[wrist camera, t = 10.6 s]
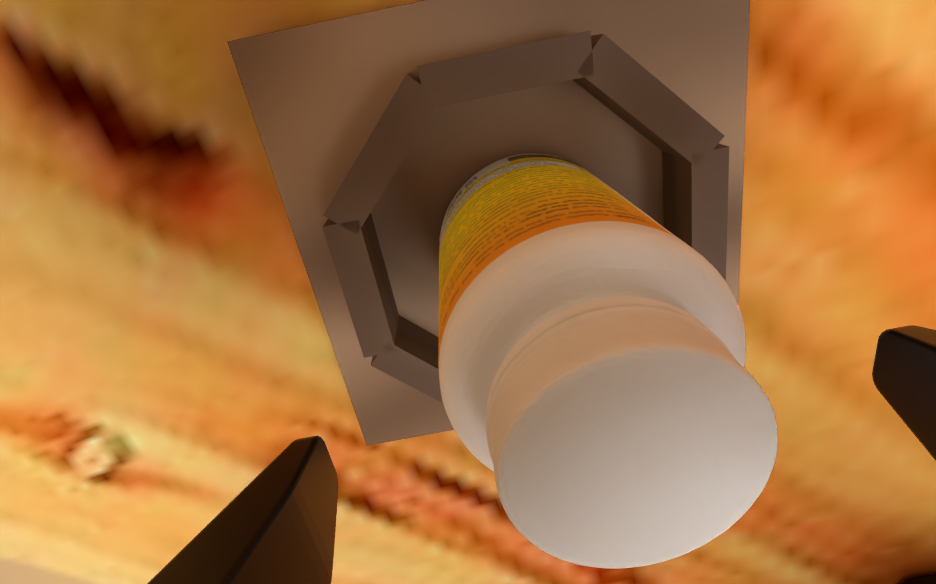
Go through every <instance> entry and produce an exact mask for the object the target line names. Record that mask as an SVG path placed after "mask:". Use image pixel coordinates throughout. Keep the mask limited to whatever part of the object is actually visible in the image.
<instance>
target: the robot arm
mask: <svg viewBox="0 0 936 584" xmlns="http://www.w3.org/2000/svg"><path fill="white" fill-rule="evenodd" d="M872 376H873V381H874V384H875V386H876V388H877V389H878V391H879V392H880V393H881V394H882V396H883V397H884V398H885V399H886V400H887V402H888V403H889V404H890V405H891V407H892V408H893V409H894V410H895V411H896V413H897V414H898V415H899V416H900V417H901V419H902V420H903V421H904V422H905V424H906V425H907V426H908V427H909V428H910V430H911V431H912V432H913V433H914V435H915V436H916V437H917V438H918V439H919V441H920V442H921V443H922V444H923V445H924V447H925V448H926V449H927V450H928V452H929V453H930V454H931V455H932V456H933V458H934V459H935V460H936V330H933V329H928V328H924V327H919V326H904V327H898V328H893V329H888V330H886V331H884V332H882V333H881V335H880V336H879V339H878V343H877V349H876V355H875V360H874V366H873V372H872ZM337 499H338V478H337V473H336V470H335V468H334V465H333V463H332V460H331V458H330V455H329V452H328V450H327V447H326V445H325V442H324V441H323V439H322V438H321V437H319V436H312V437H307V438H301V439H297V440H295V441H293V442H292V443H291V444H290V445H289V446H288V447H287V448H286V449H285V450H284V451H283V452H282V453H281V454H280V455H279V456H278V457H277V458H276V459H274V460H273V461H272V462H271V463H270V464H269V465H268V466H267V467H266V468H265V469H264V470H263V471H262V472H261V473H260V474H259V475H258V476H257V477H256V478H255V479H254V480H253V481H252V482H251V483H250V484H249V485H248V486H247V487H246V488H245V489H244V490H243V491H242V492H241V493H240V494H239V495H238V496H237V497H236V498H235V499H234V500H233V501H232V502H230V503H229V504H228V505H227V506H226V507H225V508H224V509H223V510H222V511H221V512H220V513H219V514H218V515H217V516H216V517H215V518H214V519H213V520H212V521H211V522H210V523H209V524H208V525H207V526H206V527H205V528H204V529H203V530H202V531H201V532H200V533H199V534H198V535H197V536H196V537H195V538H194V539H193V540H192V541H191V542H190V543H189V544H187V545H186V546H185V547H184V548H183V549H182V550H181V551H180V552H179V553H178V554H177V555H176V556H175V557H174V558H173V559H172V560H171V561H170V562H169V563H168V564H167V565H166V566H165V567H164V568H163V569H162V570H161V571H160V572H159V573H158V574H157V575H156V576H155V577H154V578H153V579H152V580H151V581H150V582H149V583H148V584H331V580H332V569H333V556H334V542H335V527H336V513H337ZM902 584H936V575H931V576H925V577H919V578H913V579H909V580H906V581H905V582H903V583H902Z"/></svg>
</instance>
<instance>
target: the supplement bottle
mask: <svg viewBox="0 0 936 584" xmlns="http://www.w3.org/2000/svg"><path fill="white" fill-rule="evenodd" d="M438 332H439V344H438V367H439V381H440V390H441V396H442V401H443V404H444V407H445V411H446V413H447V416H448V418H449V420H450V422H451V425H452V427H453V429H454V431H455V432H456V434H457V435H458V437H459V438H460V440H461V441H462V443H463V444H464V445H465V446H466V448H467V449H468V450H469V451H470V452H471V453H472V454H473V455H474V457H475V458H477V459H478V460H479V461H480V462H481V463H482V464H484V465H485V466H486V467H488V468H489V469H490V470H492V471H493V472H495V481H496V486H497V491H498V495H499V498H500V500H501V503H502V506H503V508H504V510H505V512H506V514H507V516H508V518H509V519H510V521H511V522H512V523H513V525H514V526H515V528H516V529H517V530H518V531H519V532H520V533H521V534H522V535H523V536H524V537H525V538H526V539H527V540H529V541H530V542H531V543H532V544H533V545H535V546H536V547H538V548H539V549H541V550H543V551H544V552H546V553H547V554H550V555H552V556H554V557H557V558H559V559H561V560H564V561H567V562H571V563H574V564H578V565H584V566H590V567H597V568H631V567H640V566H647V565H652V564H656V563H661V562H664V561H667V560H670V559H674V558H676V557H679V556H681V555H684V554H687V553H689V552H691V551H693V550H695V549H697V548H699V547H701V546H703V545H705V544H706V543H708V542H710V541H711V540H713V539H714V538H716V537H717V536H719V535H720V534H722V533H723V532H725V531H726V530H727V529H729V528H730V527H731V526H732V525H733V524H734V523H735V522H736V521H738V520H739V519H740V518H741V517H742V516H743V515H744V514H745V513H746V512H747V510H748V509H749V508H750V507H751V506H752V505H753V503H754V502H755V501H756V499H757V498H758V496H759V495H760V494H761V492H762V490H763V489H764V487H765V485H766V483H767V481H768V479H769V477H770V474H771V471H772V469H773V466H774V463H775V459H776V453H777V446H778V433H777V424H776V418H775V414H774V410H773V408H772V405H771V403H770V401H769V399H768V397H767V396H766V394H765V392H764V391H763V389H762V387H761V386H760V385H759V384H758V382H757V381H756V380H755V379H754V377H753V376H752V375H751V374H750V373H749V372H748V371H747V370H746V369H745V368H744V366H745V355H746V339H745V328H744V323H743V319H742V315H741V311H740V309H739V306H738V304H737V302H736V299H735V297H734V295H733V293H732V291H731V289H730V288H729V286H728V284H727V283H726V281H725V280H724V279H723V277H722V276H721V275H720V273H719V272H718V271H717V270H716V269H715V268H714V267H713V265H711V264H710V263H709V262H708V261H707V260H706V259H705V258H704V257H703V256H702V255H701V254H699V253H698V252H697V251H695V250H694V249H693V248H691V247H690V246H689V245H688V244H686V243H685V242H683V241H682V240H681V239H679V238H678V237H676V236H675V235H674V234H672V233H671V232H669V231H668V230H667V229H665V228H664V227H663V226H661V225H660V224H659V223H657V222H656V221H655V220H654V219H652V218H651V217H650V216H648V215H647V214H646V213H644V212H643V211H641V210H640V209H639V208H637V207H636V206H635V205H633V204H632V203H631V202H629V201H628V200H627V199H626V198H624V197H623V196H622V195H620V194H619V193H618V192H616V191H615V190H613V189H612V188H611V187H609V186H608V185H607V184H605V183H604V182H602V181H601V180H600V179H598V178H597V177H596V176H594V175H593V174H591V173H590V172H589V171H587V170H586V169H584V168H583V167H581V166H579V165H578V164H576V163H574V162H572V161H569V160H567V159H564V158H561V157H557V156H553V155H548V154H519V155H514V156H510V157H506V158H504V159H501V160H498V161H496V162H494V163H491V164H490V165H488V166H486V167H484V168H483V169H481V170H480V171H478V172H477V173H476V174H474V175H473V176H472V177H471V178H470V179H469V180H468V181H467V182H466V183H465V184H464V185H463V186H462V187H461V188H460V189H459V191H458V192H457V193H456V195H455V196H454V198H453V199H452V201H451V203H450V205H449V207H448V209H447V211H446V213H445V216H444V219H443V223H442V226H441V232H440V238H439V328H438Z"/></svg>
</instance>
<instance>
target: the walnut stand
mask: <svg viewBox="0 0 936 584" xmlns="http://www.w3.org/2000/svg"><path fill="white" fill-rule="evenodd" d="M749 13H750V0H424V1H419V2H415V3H410V4H405V5H400V6H395V7H391V8H386V9H381V10H376V11H372V12H367V13H362V14H357V15H353V16H348V17H343V18H338V19H333V20H329V21H324V22H319V23H314V24H310V25H305V26H300V27H295V28H291V29H286V30H281V31H276V32H272V33H267V34H262V35H257V36H252V37H248V38H243V39H238V40H233V41H229V42H228V45H229V48H230V51H231V54H232V57H233V59H234V62H235V65H236V68H237V71H238V74H239V77H240V80H241V83H242V85H243V88H244V91H245V94H246V97H247V100H248V103H249V106H250V109H251V112H252V114H253V117H254V120H255V123H256V126H257V129H258V132H259V135H260V138H261V141H262V143H263V146H264V149H265V152H266V155H267V158H268V161H269V164H270V167H271V169H272V172H273V175H274V178H275V181H276V184H277V187H278V190H279V193H280V196H281V198H282V201H283V204H284V207H285V210H286V213H287V216H288V219H289V222H290V224H291V227H292V230H293V233H294V236H295V239H296V242H297V245H298V248H299V251H300V253H301V256H302V259H303V262H304V265H305V268H306V271H307V274H308V277H309V279H310V282H311V285H312V288H313V291H314V294H315V297H316V300H317V303H318V306H319V308H320V311H321V314H322V317H323V320H324V323H325V326H326V329H327V332H328V334H329V337H330V340H331V343H332V346H333V349H334V352H335V355H336V358H337V361H338V363H339V366H340V369H341V372H342V375H343V378H344V381H345V384H346V387H347V390H348V392H349V395H350V398H351V401H352V404H353V407H354V410H355V413H356V416H357V418H358V421H359V424H360V427H361V430H362V433H363V436H364V439H365V442H366V445H367V446H368V445H373V444H379V443H384V442H390V441H395V440H401V439H406V438H411V437H417V436H422V435H428V434H433V433H439V432H444V431H450V430H454V429H453V427H452V425H451V422H450V420H449V418H448V416H447V413H446V411H445V407H444V404H443V401H442V396H441V390H440V381H439V367H438V344H439V332H438V328H439V238H440V232H441V226H442V223H443V219H444V216H445V213H446V211H447V209H448V207H449V205H450V203H451V201H452V199H453V198H454V196H455V195H456V193H457V192H458V191H459V189H460V188H461V187H462V186H463V185H464V184H465V183H466V182H467V181H468V180H469V179H470V178H471V177H472V176H473V175H474V174H476V173H477V172H478V171H480V170H481V169H483V168H484V167H486V166H488V165H490V164H491V163H494V162H496V161H498V160H501V159H504V158H506V157H510V156H514V155H519V154H548V155H553V156H557V157H561V158H564V159H567V160H569V161H572V162H574V163H576V164H578V165H579V166H581V167H583V168H584V169H586V170H587V171H589V172H590V173H591V174H593V175H594V176H596V177H597V178H598V179H600V180H601V181H602V182H604V183H605V184H607V185H608V186H609V187H611V188H612V189H613V190H615V191H616V192H618V193H619V194H620V195H622V196H623V197H624V198H626V199H627V200H628V201H629V202H631V203H632V204H633V205H635V206H636V207H637V208H639V209H640V210H641V211H643V212H644V213H646V214H647V215H648V216H650V217H651V218H652V219H654V220H655V221H656V222H657V223H659V224H660V225H661V226H663V227H664V228H665V229H667V230H668V231H669V232H671V233H672V234H674V235H675V236H676V237H678V238H679V239H681V240H682V241H683V242H685V243H686V244H688V245H689V246H690V247H691V248H693V249H694V250H695V251H697V252H698V253H699V254H701V255H702V256H703V257H704V258H705V259H706V260H707V261H708V262H709V263H710V264H711V265H713V267H714V268H715V269H716V270H717V271H718V272H719V273H720V275H721V276H722V277H723V279H724V280H725V281H726V283H727V284H728V286H729V288H730V289H731V291H732V293H733V295H734V297H735V299H736V302H737V304H738V299H739V273H740V247H741V221H742V195H743V169H744V143H745V117H746V91H747V65H748V39H749Z"/></svg>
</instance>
